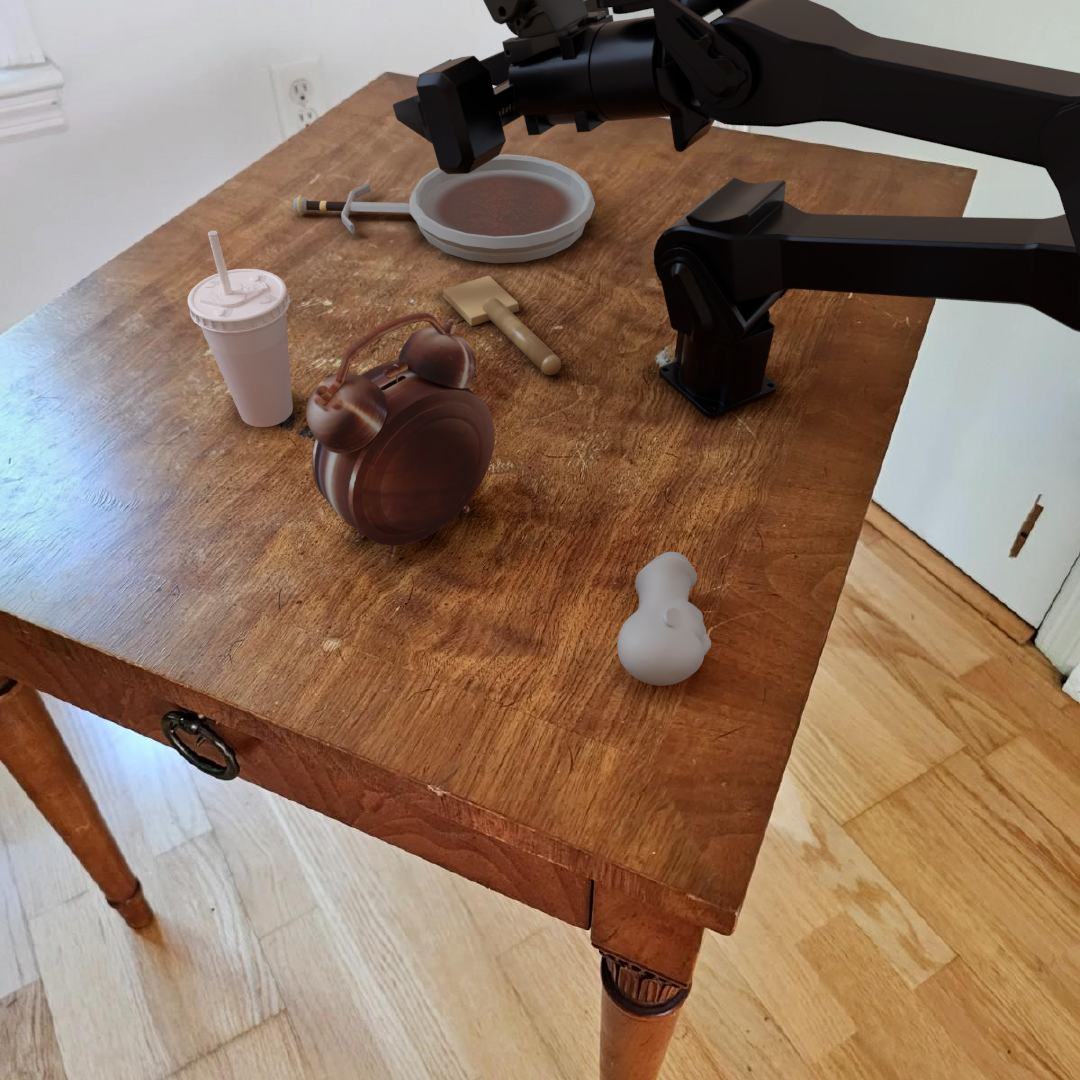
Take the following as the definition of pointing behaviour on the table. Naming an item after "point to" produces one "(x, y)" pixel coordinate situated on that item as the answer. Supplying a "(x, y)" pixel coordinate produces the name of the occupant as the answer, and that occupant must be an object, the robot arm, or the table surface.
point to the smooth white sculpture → (664, 624)
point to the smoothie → (247, 337)
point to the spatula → (500, 318)
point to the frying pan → (488, 209)
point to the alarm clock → (402, 436)
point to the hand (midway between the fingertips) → (436, 90)
